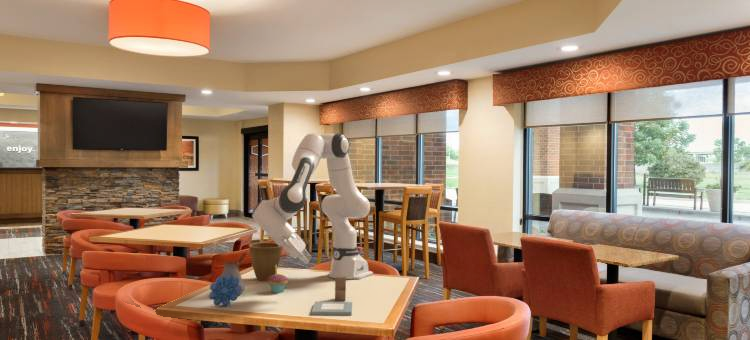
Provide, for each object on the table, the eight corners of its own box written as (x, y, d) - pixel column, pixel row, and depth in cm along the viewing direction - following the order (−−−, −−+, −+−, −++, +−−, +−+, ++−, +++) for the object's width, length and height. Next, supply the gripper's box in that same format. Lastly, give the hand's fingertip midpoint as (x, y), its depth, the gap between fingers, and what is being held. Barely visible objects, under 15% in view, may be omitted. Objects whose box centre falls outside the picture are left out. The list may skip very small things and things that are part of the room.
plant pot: (242, 279, 249) (243, 244, 249) (270, 275, 259) (271, 241, 259) (259, 284, 238) (259, 248, 238) (287, 280, 248) (288, 245, 248)
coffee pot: (237, 298, 212) (238, 260, 212) (210, 297, 214) (211, 259, 214) (258, 287, 233) (259, 252, 233) (233, 285, 235) (234, 251, 235)
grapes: (242, 302, 206) (242, 271, 206) (240, 307, 199) (240, 274, 199) (210, 303, 204) (211, 271, 204) (207, 308, 198) (208, 275, 198)
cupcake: (283, 294, 221) (283, 265, 220) (263, 293, 222) (264, 264, 222) (290, 289, 229) (291, 261, 229) (271, 288, 231) (272, 260, 231)
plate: (315, 304, 205) (315, 301, 205) (352, 305, 205) (352, 301, 205) (311, 314, 191) (311, 311, 191) (351, 315, 191) (351, 311, 191)
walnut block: (335, 298, 215) (335, 275, 215) (345, 298, 215) (345, 276, 215) (334, 301, 211) (335, 278, 211) (345, 301, 211) (345, 278, 211)
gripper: (286, 233, 202) (312, 259, 202) (293, 227, 222) (317, 251, 223) (274, 244, 202) (300, 271, 202) (282, 237, 222) (306, 261, 223)
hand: (309, 260), depth 213 cm, fingers open, 8 cm apart
